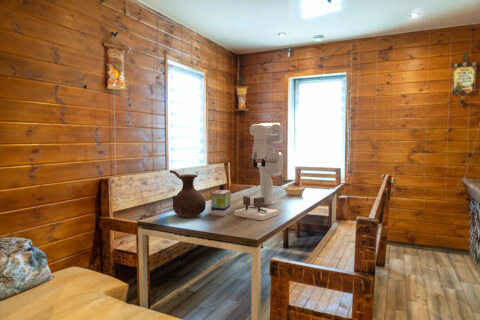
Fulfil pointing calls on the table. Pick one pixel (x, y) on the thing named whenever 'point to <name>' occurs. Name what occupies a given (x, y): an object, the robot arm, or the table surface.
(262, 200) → the near peg
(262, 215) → the board
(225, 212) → the tea box
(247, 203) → the far peg
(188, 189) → the jug
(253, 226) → the table surface
